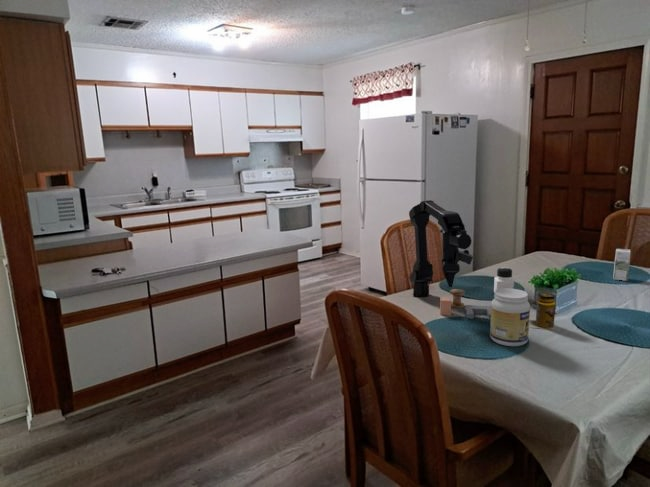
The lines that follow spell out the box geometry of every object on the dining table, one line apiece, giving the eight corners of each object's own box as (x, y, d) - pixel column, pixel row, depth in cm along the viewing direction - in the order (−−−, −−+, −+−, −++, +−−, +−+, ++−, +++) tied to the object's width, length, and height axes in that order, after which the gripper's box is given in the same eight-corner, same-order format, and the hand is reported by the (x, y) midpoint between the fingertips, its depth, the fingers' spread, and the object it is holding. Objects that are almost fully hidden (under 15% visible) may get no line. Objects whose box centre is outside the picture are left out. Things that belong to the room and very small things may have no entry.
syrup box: (627, 278, 216) (630, 249, 213) (627, 281, 211) (630, 251, 208) (613, 277, 219) (616, 247, 216) (613, 280, 214) (616, 250, 211)
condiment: (556, 330, 161) (558, 298, 158) (530, 328, 163) (532, 296, 161) (552, 322, 168) (555, 291, 165) (528, 320, 170) (530, 290, 168)
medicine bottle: (513, 297, 195) (515, 270, 193) (496, 297, 197) (497, 270, 194) (510, 292, 202) (511, 266, 200) (493, 291, 204) (494, 266, 201)
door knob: (449, 308, 186) (450, 293, 184) (449, 303, 191) (449, 288, 190) (464, 308, 184) (465, 293, 183) (463, 303, 190) (464, 289, 189)
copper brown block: (440, 314, 179) (440, 300, 178) (440, 311, 183) (440, 297, 181) (450, 315, 178) (451, 300, 177) (450, 311, 182) (450, 297, 181)
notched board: (467, 318, 174) (467, 313, 173) (465, 309, 183) (465, 304, 183) (494, 319, 172) (494, 314, 171) (491, 310, 181) (491, 305, 181)
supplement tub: (524, 350, 146) (527, 300, 142) (486, 343, 152) (488, 295, 149) (530, 336, 156) (533, 289, 152) (494, 330, 162) (496, 285, 159)
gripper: (473, 249, 164) (473, 290, 167) (469, 240, 182) (469, 278, 185) (442, 249, 167) (442, 290, 169) (441, 241, 185) (441, 278, 187)
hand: (450, 284), depth 178 cm, fingers open, 9 cm apart
